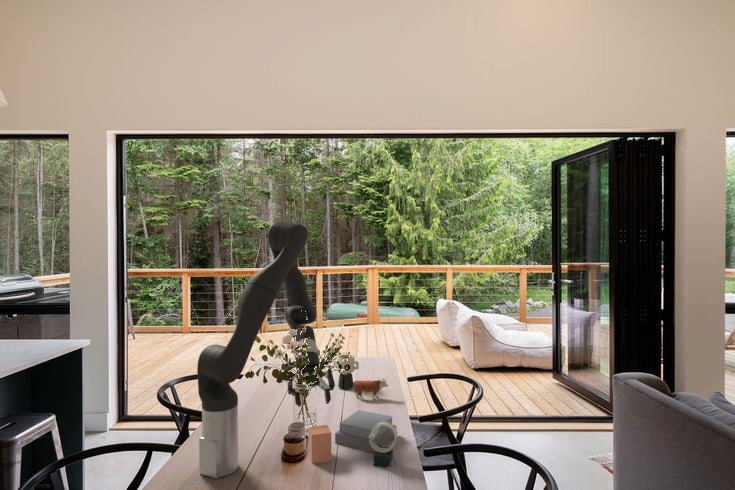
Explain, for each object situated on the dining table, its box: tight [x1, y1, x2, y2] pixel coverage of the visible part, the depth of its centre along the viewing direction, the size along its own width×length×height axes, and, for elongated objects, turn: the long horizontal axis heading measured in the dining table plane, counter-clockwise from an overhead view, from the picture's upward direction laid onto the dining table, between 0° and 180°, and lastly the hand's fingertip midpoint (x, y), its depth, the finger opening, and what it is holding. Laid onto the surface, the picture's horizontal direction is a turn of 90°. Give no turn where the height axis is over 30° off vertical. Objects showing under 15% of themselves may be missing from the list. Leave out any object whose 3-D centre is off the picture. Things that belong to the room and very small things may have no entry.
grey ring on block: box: [369, 421, 399, 468], centre depth 132 cm, size 6×8×11 cm
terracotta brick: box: [307, 424, 332, 464], centre depth 134 cm, size 6×6×8 cm
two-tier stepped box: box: [334, 409, 397, 454], centre depth 147 cm, size 14×14×6 cm
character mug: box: [332, 353, 360, 390], centre depth 195 cm, size 11×7×13 cm, turn 74°
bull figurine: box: [352, 378, 389, 401], centre depth 182 cm, size 4×13×8 cm, turn 89°
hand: (313, 404), depth 142 cm, fingers open, 8 cm apart
